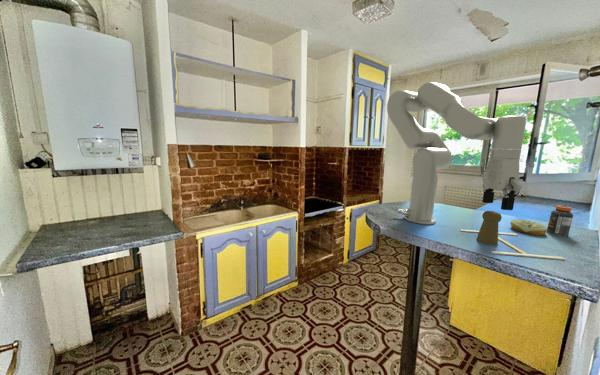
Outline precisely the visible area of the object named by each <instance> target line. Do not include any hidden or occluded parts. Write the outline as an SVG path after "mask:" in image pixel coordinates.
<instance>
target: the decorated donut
mask: <svg viewBox="0 0 600 375" xmlns="http://www.w3.org/2000/svg"><path fill="white" fill-rule="evenodd" d="M510 226H511V228H512V229H513V230H514V231H517V232H520V233H524V234H526V235H527V234H528V235H531V236H540V237H541V236H544V235H546V233H548V232H547V227H546V226H545V225H543V224H541V223H539V222H535V221H531V220H527V219H512V220H511V221H510Z"/></svg>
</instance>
